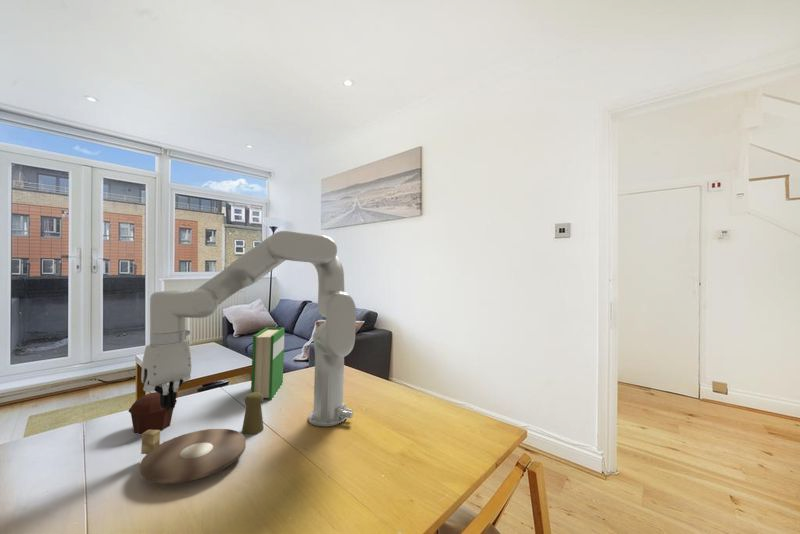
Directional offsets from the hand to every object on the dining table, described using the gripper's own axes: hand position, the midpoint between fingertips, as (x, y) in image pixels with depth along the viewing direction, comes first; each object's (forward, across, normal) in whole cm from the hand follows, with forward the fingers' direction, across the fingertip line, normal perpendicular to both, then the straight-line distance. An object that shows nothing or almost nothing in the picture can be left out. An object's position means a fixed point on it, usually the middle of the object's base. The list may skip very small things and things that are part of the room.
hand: (168, 407), depth 84 cm
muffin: (+12, -5, -18) cm, 22 cm away
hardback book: (+13, -42, -13) cm, 46 cm away
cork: (+13, -19, +9) cm, 24 cm away
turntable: (+10, 0, +11) cm, 15 cm away
